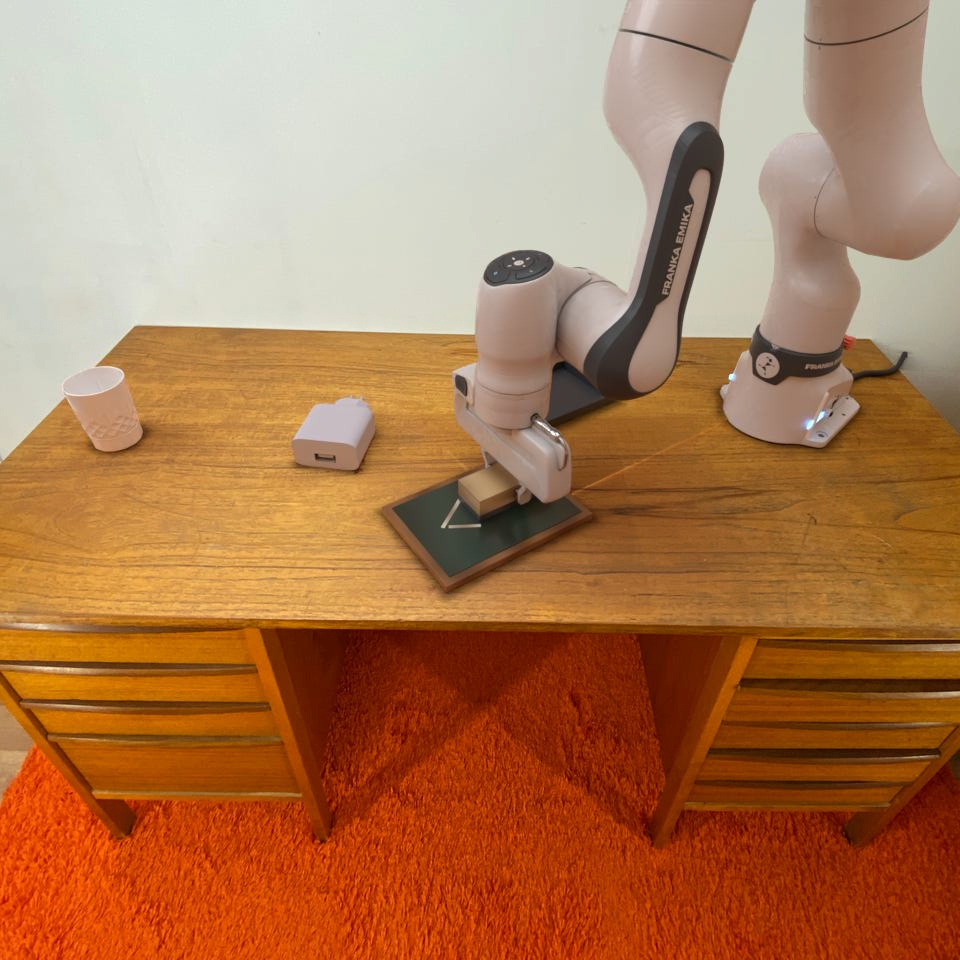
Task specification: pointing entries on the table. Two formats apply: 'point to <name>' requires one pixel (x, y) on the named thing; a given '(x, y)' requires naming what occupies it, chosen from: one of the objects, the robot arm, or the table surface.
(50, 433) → the table surface
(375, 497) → the table surface
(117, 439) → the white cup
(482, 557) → the board
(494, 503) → the eraser
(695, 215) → the robot arm
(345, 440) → the charger
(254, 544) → the table surface
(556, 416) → the tray
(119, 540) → the table surface
